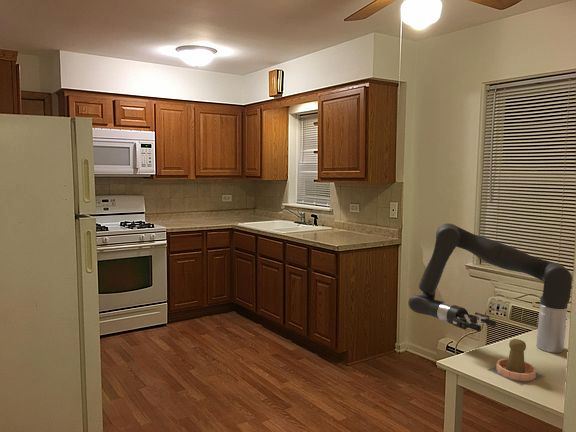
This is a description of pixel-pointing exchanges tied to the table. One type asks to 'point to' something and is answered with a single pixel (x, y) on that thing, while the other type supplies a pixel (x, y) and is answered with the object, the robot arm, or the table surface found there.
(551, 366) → the table surface
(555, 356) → the table surface
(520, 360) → the pepper mill
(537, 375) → the mat
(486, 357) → the table surface
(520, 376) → the bowl
